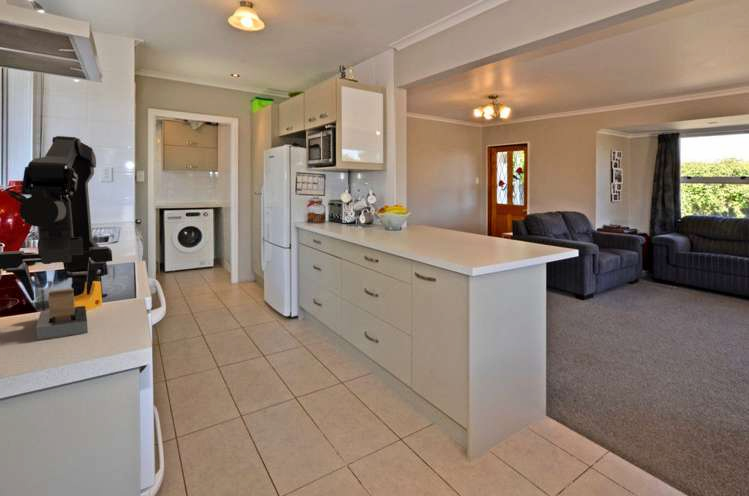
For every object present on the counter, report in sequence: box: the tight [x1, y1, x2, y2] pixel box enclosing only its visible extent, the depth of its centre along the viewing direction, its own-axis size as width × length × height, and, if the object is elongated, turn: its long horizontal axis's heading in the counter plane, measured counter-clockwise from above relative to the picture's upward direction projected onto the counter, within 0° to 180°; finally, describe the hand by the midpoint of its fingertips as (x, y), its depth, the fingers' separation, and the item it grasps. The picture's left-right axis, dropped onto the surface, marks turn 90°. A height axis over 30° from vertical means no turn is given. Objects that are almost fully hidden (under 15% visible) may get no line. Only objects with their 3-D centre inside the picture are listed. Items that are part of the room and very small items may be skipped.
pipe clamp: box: [48, 281, 103, 312], centre depth 97 cm, size 12×4×6 cm, turn 174°
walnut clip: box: [47, 287, 75, 323], centre depth 86 cm, size 8×4×8 cm, turn 37°
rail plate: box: [35, 306, 89, 341], centre depth 86 cm, size 14×8×2 cm, turn 37°
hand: (61, 297), depth 85 cm, fingers open, 9 cm apart
